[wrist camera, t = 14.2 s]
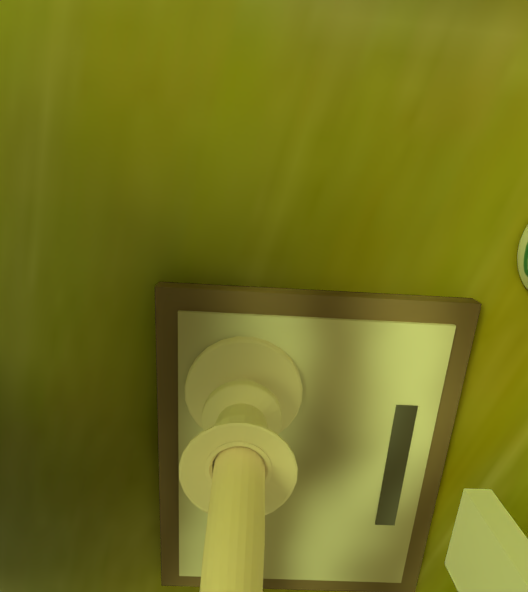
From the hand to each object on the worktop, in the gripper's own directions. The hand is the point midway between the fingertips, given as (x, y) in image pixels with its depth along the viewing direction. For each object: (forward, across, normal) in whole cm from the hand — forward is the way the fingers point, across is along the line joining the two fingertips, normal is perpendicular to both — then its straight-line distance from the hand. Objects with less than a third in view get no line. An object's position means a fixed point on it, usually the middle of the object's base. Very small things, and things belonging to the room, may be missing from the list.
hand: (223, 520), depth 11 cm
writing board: (+8, +4, -4) cm, 10 cm away
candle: (+8, 0, 0) cm, 8 cm away
